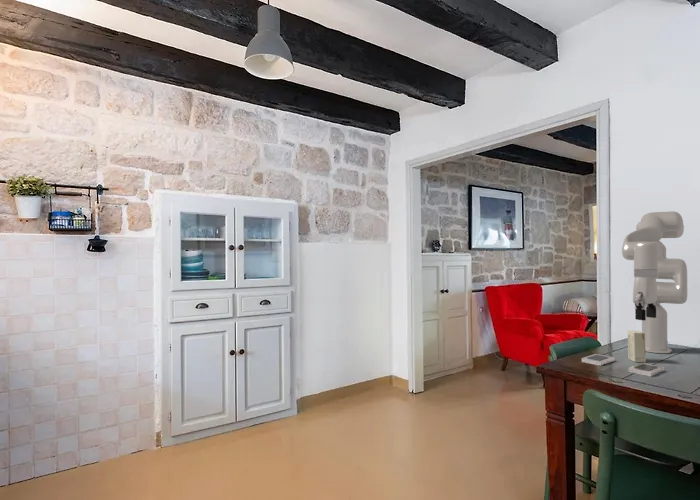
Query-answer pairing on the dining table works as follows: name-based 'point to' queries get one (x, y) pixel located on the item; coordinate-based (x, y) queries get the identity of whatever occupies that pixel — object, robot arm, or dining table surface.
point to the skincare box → (636, 346)
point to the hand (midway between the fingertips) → (645, 318)
